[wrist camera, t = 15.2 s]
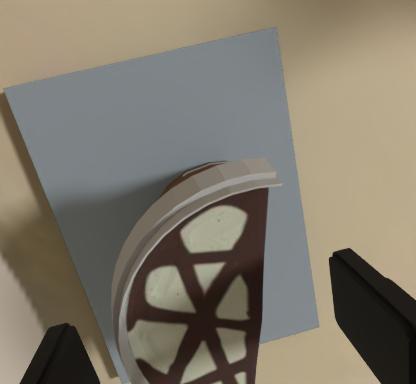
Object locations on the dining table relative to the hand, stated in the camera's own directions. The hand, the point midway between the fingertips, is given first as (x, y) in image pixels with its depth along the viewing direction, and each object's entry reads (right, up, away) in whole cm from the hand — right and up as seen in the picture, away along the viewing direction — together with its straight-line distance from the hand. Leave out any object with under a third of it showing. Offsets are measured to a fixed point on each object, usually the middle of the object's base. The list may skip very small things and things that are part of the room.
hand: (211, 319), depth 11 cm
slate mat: (-2, +2, +11) cm, 11 cm away
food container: (-2, +2, +10) cm, 10 cm away
